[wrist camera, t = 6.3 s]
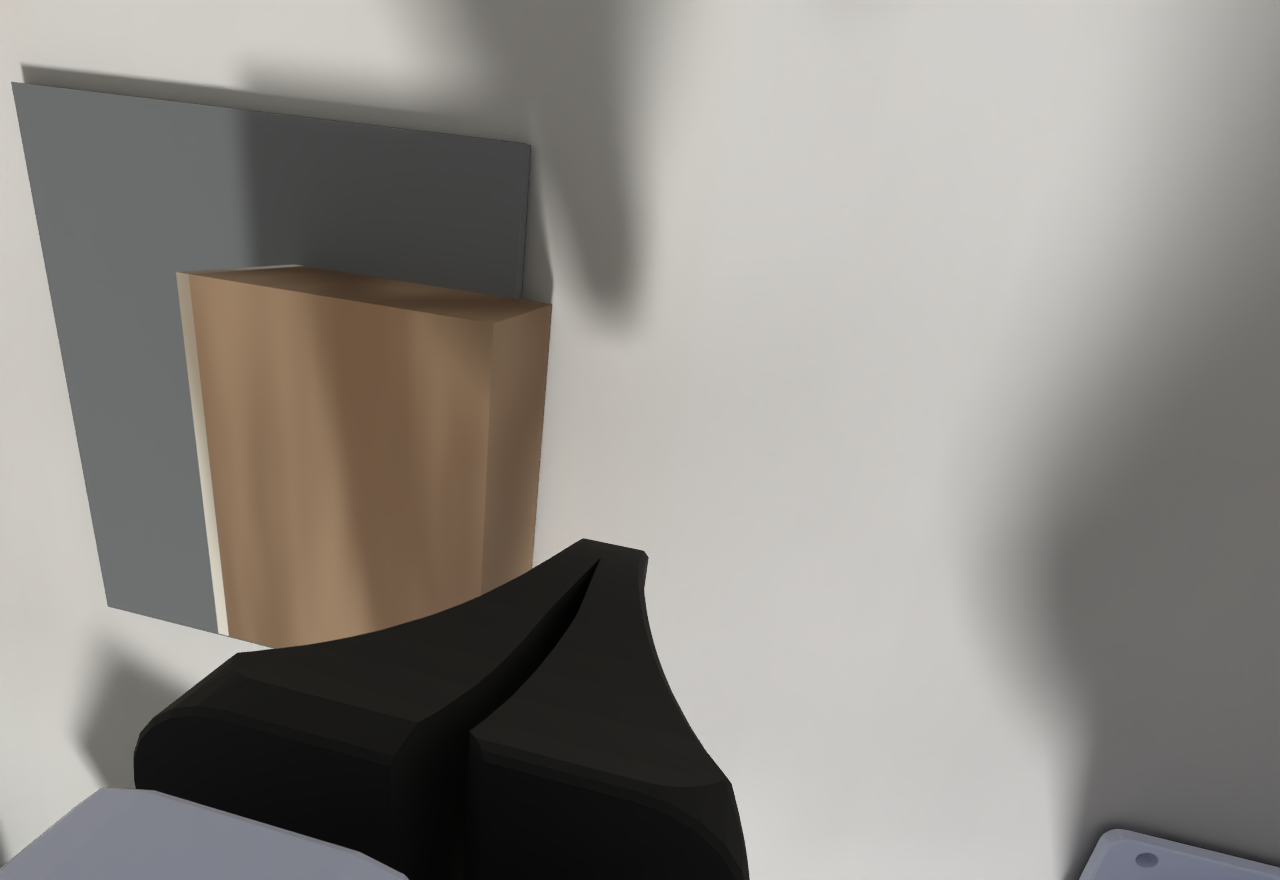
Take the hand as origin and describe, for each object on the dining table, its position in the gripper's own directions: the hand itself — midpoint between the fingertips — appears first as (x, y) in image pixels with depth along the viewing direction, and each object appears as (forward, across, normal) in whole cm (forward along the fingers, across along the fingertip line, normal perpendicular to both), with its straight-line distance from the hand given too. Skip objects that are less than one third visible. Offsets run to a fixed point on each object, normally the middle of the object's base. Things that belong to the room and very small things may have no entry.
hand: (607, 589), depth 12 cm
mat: (+5, +11, 0) cm, 12 cm away
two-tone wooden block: (+3, +3, 0) cm, 4 cm away
